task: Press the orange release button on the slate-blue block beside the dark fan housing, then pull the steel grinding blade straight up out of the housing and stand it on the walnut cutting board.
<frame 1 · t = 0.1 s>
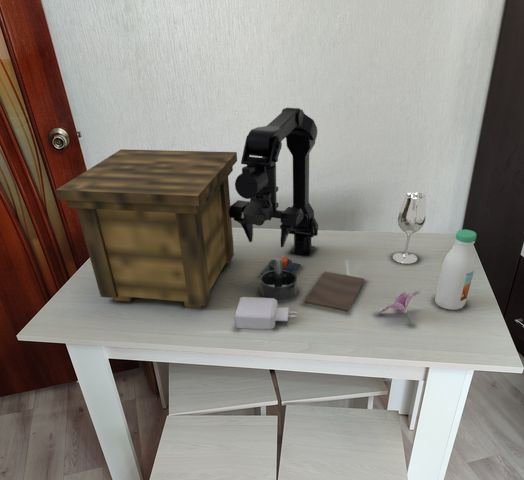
hand: (266, 244, 125), 15 cm above the table, tool pointing down, fingers open, 9 cm apart
dark fan housing: (278, 292, 133), on the table
lily: (398, 318, 121), on the table
button: (280, 261, 141), point 3 cm above the table, slide at 0.1 cm
cutting board: (335, 292, 132), on the table
charger: (267, 321, 122), on the table
crate: (173, 281, 140), on the table
button block: (281, 272, 143), on the table
wineglass: (404, 259, 147), on the table
milk bottle: (449, 303, 126), on the table
blade: (278, 290, 133), point 1 cm above the table, touching dark fan housing
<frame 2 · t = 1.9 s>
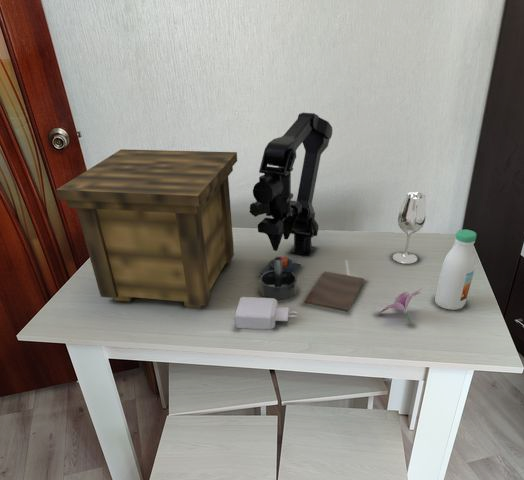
hand: (280, 244, 137), 9 cm above the table, tool pointing down, fingers open, 8 cm apart
nothing on the table moved.
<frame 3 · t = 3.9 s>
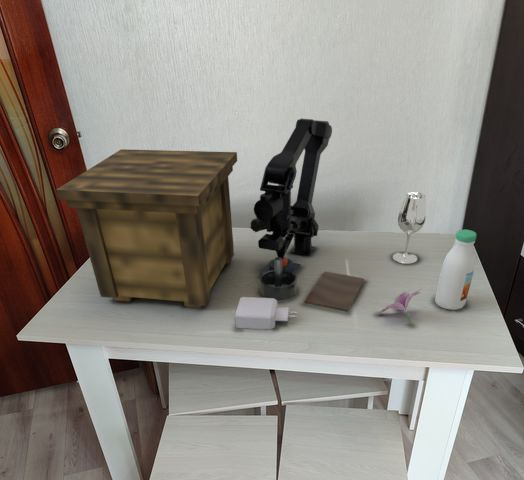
hand: (281, 259, 140), 4 cm above the table, tool pointing down, fingers closed, pressing on button
button: (280, 262, 141), point 3 cm above the table, slide at 0.0 cm, touching gripper
everything else where it was.
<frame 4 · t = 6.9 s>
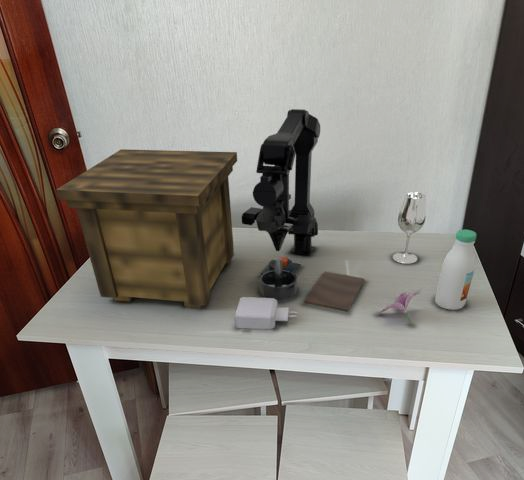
hand: (278, 250, 127), 12 cm above the table, tool pointing down, fingers closed
button: (280, 261, 141), point 3 cm above the table, slide at 0.1 cm
everything else where it was.
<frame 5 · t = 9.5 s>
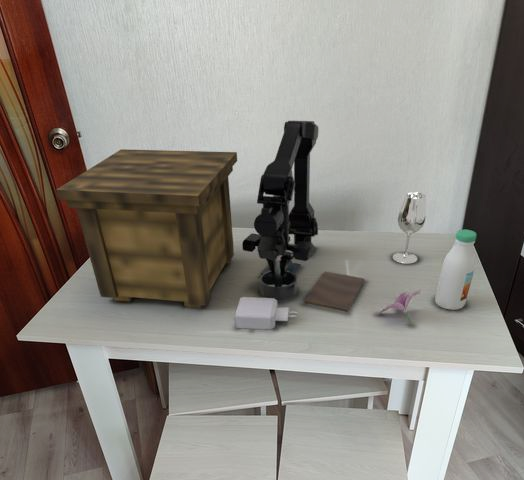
hand: (278, 275, 130), 6 cm above the table, tool pointing down, fingers closed on blade, 2 cm apart
blade: (278, 290, 133), point 1 cm above the table, touching dark fan housing, gripper
everything else where it was.
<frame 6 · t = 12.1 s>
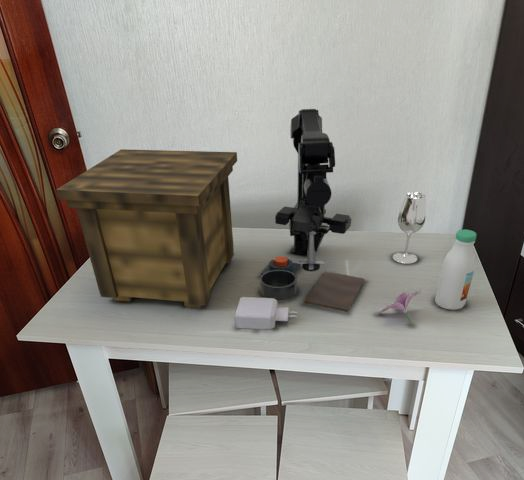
hand: (311, 250, 125), 13 cm above the table, tool pointing down, fingers closed on blade, 2 cm apart
blade: (311, 267, 128), point 8 cm above the table, touching gripper
everything else where it was.
when the fingers open (6 cm above the table, at t = 14.5 s): blade stays where it is, resting on cutting board.
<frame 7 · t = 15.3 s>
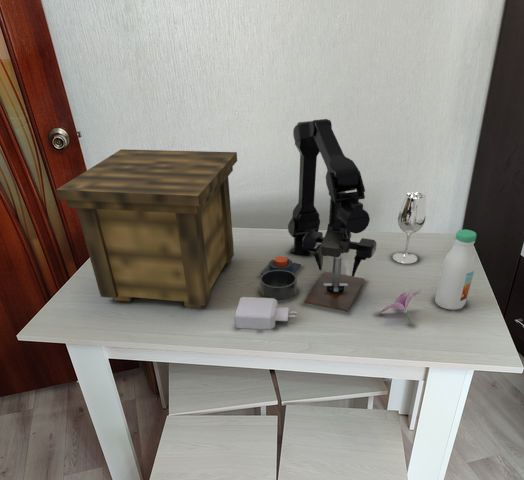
hand: (336, 272, 128), 6 cm above the table, tool pointing down, fingers open, 9 cm apart
blade: (335, 289, 131), point 1 cm above the table, touching cutting board
everything else where it was.
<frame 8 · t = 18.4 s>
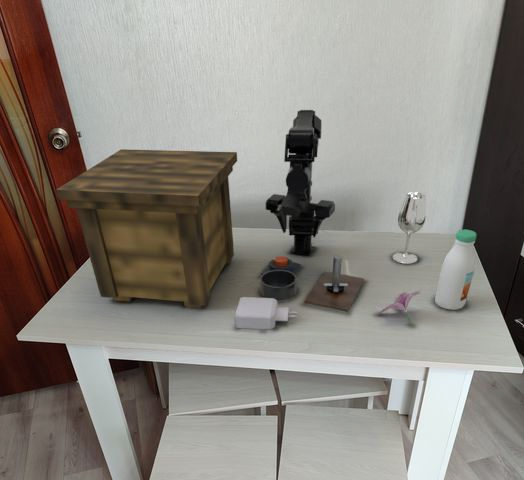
hand: (299, 234, 135), 12 cm above the table, tool pointing down, fingers open, 9 cm apart
nothing on the table moved.
at the end: button pushed in 1.0 cm at the most during the clip, back to where it started at the end; blade inside the target area on the cutting board (0.0 cm from its centre), point 1.2 cm above the cutting board's base; blade tilted 0° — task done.
